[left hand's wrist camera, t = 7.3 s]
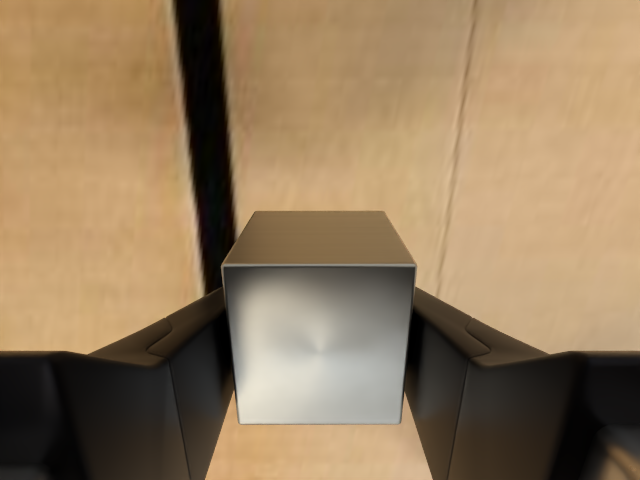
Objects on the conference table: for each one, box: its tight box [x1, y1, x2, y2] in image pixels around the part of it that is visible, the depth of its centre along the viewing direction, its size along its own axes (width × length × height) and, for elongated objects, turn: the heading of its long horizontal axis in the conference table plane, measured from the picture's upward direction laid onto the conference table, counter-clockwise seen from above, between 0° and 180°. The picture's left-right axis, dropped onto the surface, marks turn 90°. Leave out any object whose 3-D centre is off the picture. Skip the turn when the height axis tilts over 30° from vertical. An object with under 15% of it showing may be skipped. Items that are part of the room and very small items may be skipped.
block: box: [221, 211, 417, 425], centre depth 10 cm, size 4×4×4 cm
